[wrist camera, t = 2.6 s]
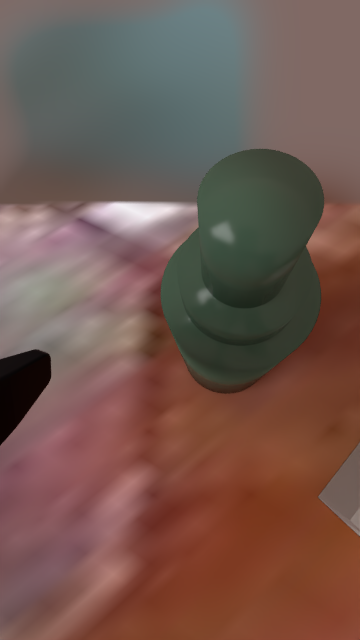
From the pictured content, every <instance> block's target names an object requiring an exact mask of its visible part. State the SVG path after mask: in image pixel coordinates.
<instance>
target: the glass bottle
mask: <svg viewBox="0 0 360 640" xmlns="http://www.w3.org/2000/svg"><path fill="white" fill-rule="evenodd" d="M197 206H198V223H199V228H197V229H196V230H195V231H194V232H193V233H192V234H191V236H190V237H189V238H188V239H187V240H186V241H185V242H184V243H183V244H182V245H181V246H180V247H179V248H178V249H177V250H176V251H175V253H174V254H173V256H172V257H171V259H170V260H169V262H168V264H167V267H166V269H165V271H164V275H163V278H162V284H161V303H162V309H163V312H164V316H165V318H166V321H167V323H168V325H169V328H170V330H171V332H172V334H173V337H174V339H175V341H176V343H177V346H178V348H179V350H180V353H181V355H182V357H183V359H184V362H185V364H186V366H187V368H188V371H189V372H190V374H191V376H192V377H193V378H194V379H195V380H196V381H197V382H198V383H199V384H200V385H201V386H203V387H205V388H206V389H208V390H211V391H213V392H217V393H224V394H227V393H236V392H239V391H242V390H244V389H246V388H248V387H250V386H251V385H252V384H254V383H255V382H256V381H257V380H259V379H260V378H261V377H262V376H263V375H265V374H266V373H267V372H268V371H270V370H271V369H272V368H273V367H275V366H276V365H277V364H278V363H279V362H281V361H282V360H283V359H284V358H286V357H287V356H288V355H289V354H291V353H292V352H293V351H294V350H295V349H297V348H298V347H299V346H300V345H301V344H302V343H303V342H304V341H305V339H306V338H307V337H308V335H309V334H310V332H311V331H312V329H313V327H314V325H315V323H316V321H317V318H318V314H319V311H320V304H321V288H320V282H319V278H318V275H317V272H316V270H315V267H314V265H313V263H312V261H311V258H310V254H309V252H308V250H307V248H306V244H307V243H308V241H309V239H310V237H311V235H312V234H313V232H314V230H315V228H316V226H317V225H318V223H319V221H320V219H321V216H322V213H323V208H324V194H323V190H322V187H321V184H320V182H319V180H318V178H317V177H316V175H315V174H314V172H313V171H312V170H311V169H310V168H309V167H308V166H307V165H306V164H304V163H303V162H302V161H300V160H298V159H297V158H295V157H293V156H291V155H289V154H286V153H283V152H280V151H276V150H269V149H251V150H245V151H241V152H238V153H235V154H232V155H230V156H228V157H226V158H224V159H222V160H221V161H219V162H218V163H217V164H215V165H214V166H213V167H212V168H211V169H210V170H209V172H208V173H207V174H206V175H205V177H204V179H203V181H202V182H201V185H200V188H199V191H198V197H197Z"/></svg>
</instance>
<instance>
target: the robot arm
mask: <svg viewBox="0 0 360 640" xmlns="http://www.w3.org/2000/svg"><path fill="white" fill-rule="evenodd" d="M50 379H51V358H50V355H49V354H48V353H46V352H43V351H40V350H37V349H35V350H31V351H27V352H24V353H20V354H17V355H13V356H10V357H6V358H3V359H0V445H1V444H2V443H3V442H4V441H5V440H6V438H7V437H8V436H9V435H10V434H11V433H12V432H13V430H14V429H15V428H16V427H17V426H18V424H19V423H20V422H21V420H22V419H23V418H24V416H25V415H26V414H27V412H28V411H29V410H30V408H31V407H32V405H33V404H34V403H35V401H36V400H37V399H38V397H39V396H40V394H41V393H42V392H43V390H44V389H45V388H46V386H47V385H48V383H49V381H50Z"/></svg>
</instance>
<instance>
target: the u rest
mask: <svg viewBox="0 0 360 640" xmlns="http://www.w3.org/2000/svg"><path fill="white" fill-rule="evenodd" d="M318 498H319V499H320V500H321V501H322V502H323V503H325V504H326V505H327V506H328V507H329V508H330V509H331V510H332V511H333V512H334V513H335V514H336V515H337V516H338V517H340V518H341V519H342V520H343V521H344V522H345V523H346V524H347V525H348V526H349V527H350V528H351V529H352V530H353V531H354V532H356V533H357V534H358V535H359V536H360V443H359V444H358V445H357V447H356V448H355V449H354V451H353V452H352V453H351V454H350V456H349V457H348V458H347V460H346V461H345V462H344V464H343V465H342V466H341V468H340V469H339V470H338V471H337V473H336V474H335V475H334V477H333V478H332V479H331V481H330V482H329V483H328V484H327V486H326V487H325V488H324V490H323V491H322V492H321V494H320V495H319V496H318Z"/></svg>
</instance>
